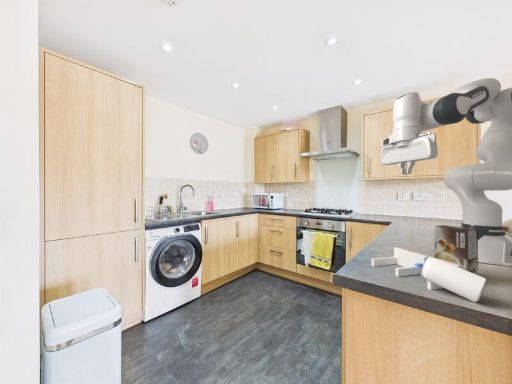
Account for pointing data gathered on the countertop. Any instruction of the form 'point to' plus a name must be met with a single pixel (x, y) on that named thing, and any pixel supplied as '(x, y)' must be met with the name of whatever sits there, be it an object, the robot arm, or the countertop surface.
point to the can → (453, 278)
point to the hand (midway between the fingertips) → (406, 174)
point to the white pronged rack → (408, 264)
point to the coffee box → (457, 246)
